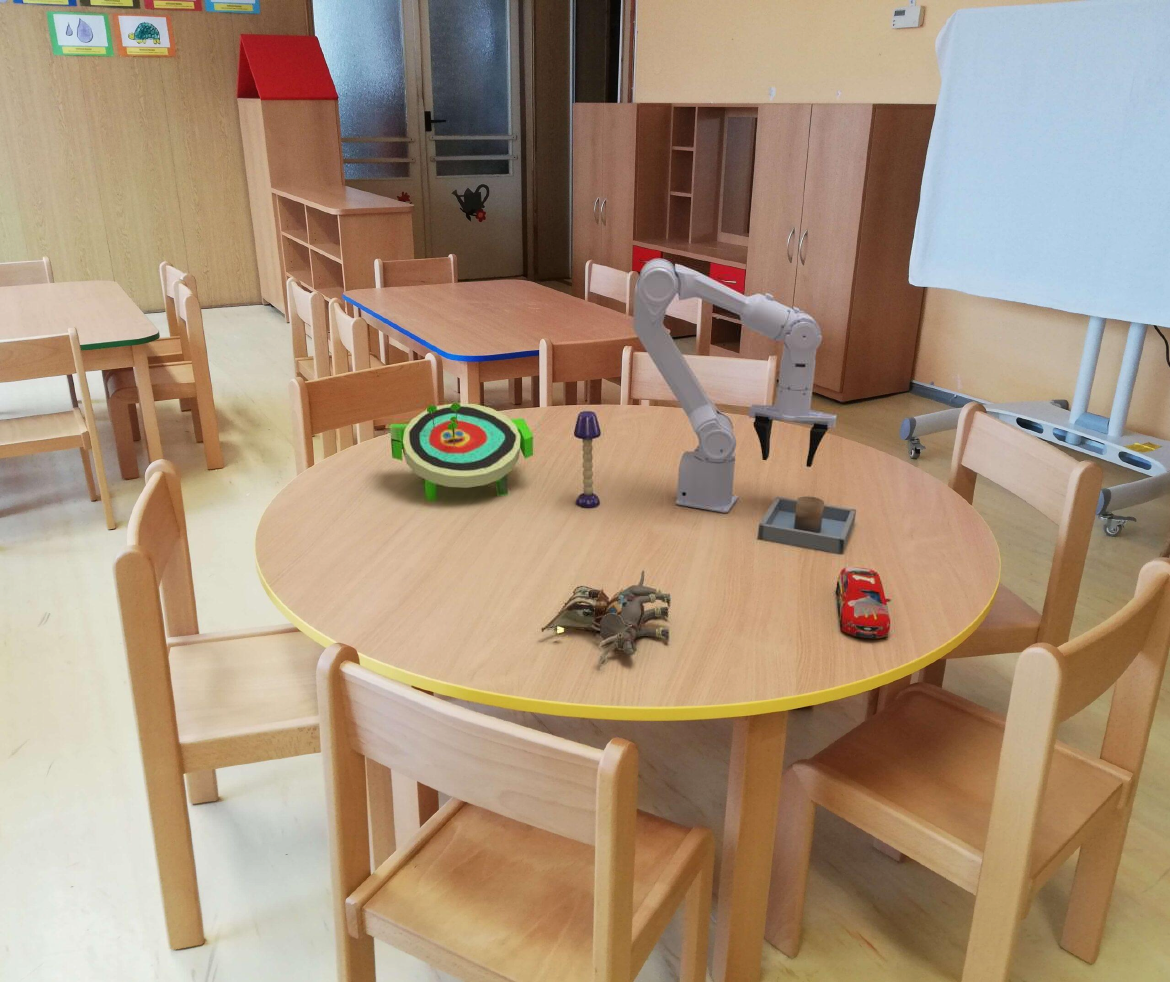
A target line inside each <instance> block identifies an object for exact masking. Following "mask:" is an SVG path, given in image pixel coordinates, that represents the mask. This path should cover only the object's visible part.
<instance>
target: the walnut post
mask: <svg viewBox="0 0 1170 982" xmlns="http://www.w3.org/2000/svg"><path fill="white" fill-rule="evenodd" d="M796 500H797V505H796V514H795V523H794V529H797V530H803V531H809V532H814V533H820V532H821V525H822V517H823V509H824V504H825V501H824V500H823V499H822V498H819V497H815V496H800V497H797V499H796Z"/></svg>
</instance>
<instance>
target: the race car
mask: <svg viewBox="0 0 1170 982" xmlns="http://www.w3.org/2000/svg"><path fill="white" fill-rule="evenodd" d="M835 587H836V590H835V595H836V601H837V602H836V603H837V612H838V620H839V622H840V623H839V627H840V629H839V631H841V632H844V633H847V634H848V635H851V636H855V637H859V638H864V639H881V638H885V637H888V636H889V633H890V629H891V618H890V614H889V607H888V604H887V603H889V602H891V599H890V598H886V595H885V591H884V585H883V582H882V580H881V577H880V574H879V573H878V572H877V571H875V570H873V569H871V568H866V567H858V566H857V567H856V566H855V567H854V566H847V567H844V568H842V569H841V570H840V573H839V575H838V578H837V580H836V586H835Z"/></svg>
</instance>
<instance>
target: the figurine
mask: <svg viewBox="0 0 1170 982" xmlns="http://www.w3.org/2000/svg"><path fill="white" fill-rule="evenodd" d="M644 582H645V570H644V569H643V570H642V571H641V576H640V581H639V583H638V584H635V585H634V584H633V585H631V586H628V587H627V588H625V589H623V588H622V589H620V590H619V591H618V592H616V593H615V594H614V595H613V596H612V597H611V598H609V597H608V596H607V594H606V592H605V591H604V588H601V589H596V588H592V587H590V586H589V587H588V586H586V585H579V586H576V588H574V590H573V591H572V594H573V595H571V596H570V597H569V598H568V600H567V601H566V602H564V605H563V606H562V608H561V610H560V611H558V612H557V615H556V616H555V617H554V618H553V619H552V620H550V621H549V623H548V624H546V625H545V626H544V627H541V628H540V630H541V633H543V632H545V630H546V631H555V632H556V635H558V634H562V633H564V632H565V631H566V629H565V628H570V629H577V630H584V631H586V632H590V631H594V637H596V634H597V631H600V632H599V634H600V636H601V638H602V639H603V640H601V641H600V643H599V645H598V649H599V650H598V651H601V652H602V654H600V656H599V660H598V669H600V668H601V666H605V665H606V664H607V661H608V660H607V659H608V658H607V655H609V653H610V652H612V651H614V650H615V649H618V650H619V651H622V652H624V653H625V654H626V655H628V656H632V655H636V652H637V650H638V648H637V645H636V642H635V639H637V637H638V638H639V637H644V636H645V637H657V638H664V639H666V640H667V642H670V628H662V627H659V628H656V629H649V628H648V629H647V628H643V627H642V626H643V624H644V623H645V622H646V621H647V620H648V619H650V618H653V617H656V618H658V617H661V616H663V617H666V618H667V619H669V616H670V614H669V613H670V611H669V609H670V608H671V598H672V597H671V593H664V589H661V588H659V589H658V588H652V587H649V586H646V585H644ZM657 601H661V603H666V605H667V606H663V607H662V606H661V607H660V606H657V605H656V606H655V607H652V608H649V609H647V610H646V609H645V606H644V604H649V603H650V604H654V603H656V602H657ZM608 643H610V644H611V645H609V646H608V647H607V648H606V649H605V650H603V648H602V647H603V646H604V645H606V644H608ZM604 659H605V661H604V663H602V661H603V660H604Z"/></svg>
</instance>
